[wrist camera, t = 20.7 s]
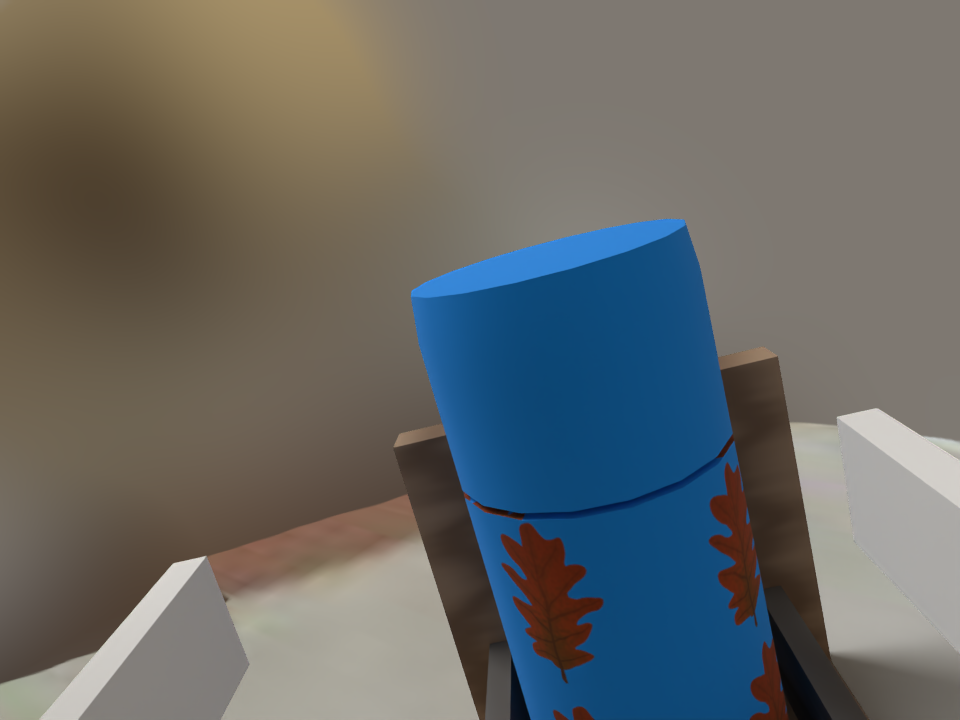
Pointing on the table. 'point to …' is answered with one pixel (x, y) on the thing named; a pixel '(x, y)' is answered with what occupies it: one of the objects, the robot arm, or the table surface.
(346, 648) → the table surface
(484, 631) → the mount board
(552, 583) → the thermos
